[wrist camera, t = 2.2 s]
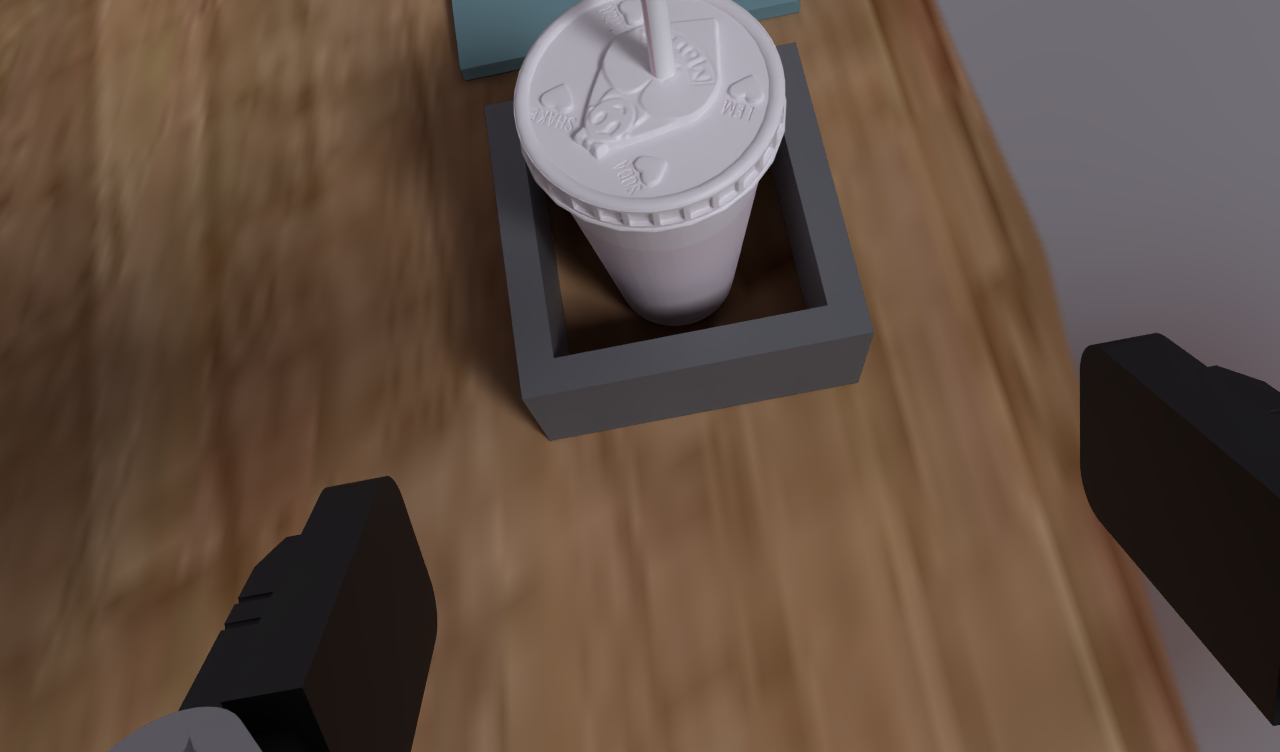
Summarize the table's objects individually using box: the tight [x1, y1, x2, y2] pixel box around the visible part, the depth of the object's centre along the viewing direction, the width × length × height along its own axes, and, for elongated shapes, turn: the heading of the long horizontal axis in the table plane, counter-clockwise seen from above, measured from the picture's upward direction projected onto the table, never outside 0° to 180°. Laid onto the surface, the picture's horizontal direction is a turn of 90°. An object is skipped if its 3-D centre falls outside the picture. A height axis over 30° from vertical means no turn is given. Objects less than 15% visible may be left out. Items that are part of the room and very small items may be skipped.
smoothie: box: [514, 0, 787, 326], centre depth 25 cm, size 6×6×14 cm
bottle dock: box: [484, 42, 874, 441], centre depth 30 cm, size 10×10×4 cm
